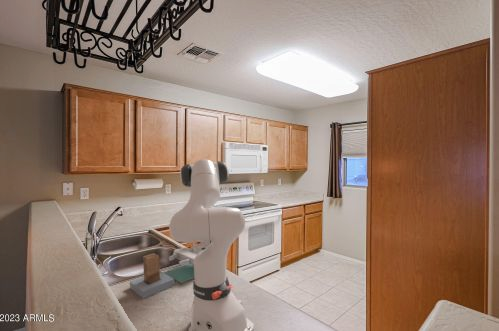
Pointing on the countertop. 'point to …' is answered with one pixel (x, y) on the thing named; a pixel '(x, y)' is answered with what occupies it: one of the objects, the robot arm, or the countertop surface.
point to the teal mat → (182, 273)
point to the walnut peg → (151, 268)
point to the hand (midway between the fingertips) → (174, 261)
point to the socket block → (151, 285)
